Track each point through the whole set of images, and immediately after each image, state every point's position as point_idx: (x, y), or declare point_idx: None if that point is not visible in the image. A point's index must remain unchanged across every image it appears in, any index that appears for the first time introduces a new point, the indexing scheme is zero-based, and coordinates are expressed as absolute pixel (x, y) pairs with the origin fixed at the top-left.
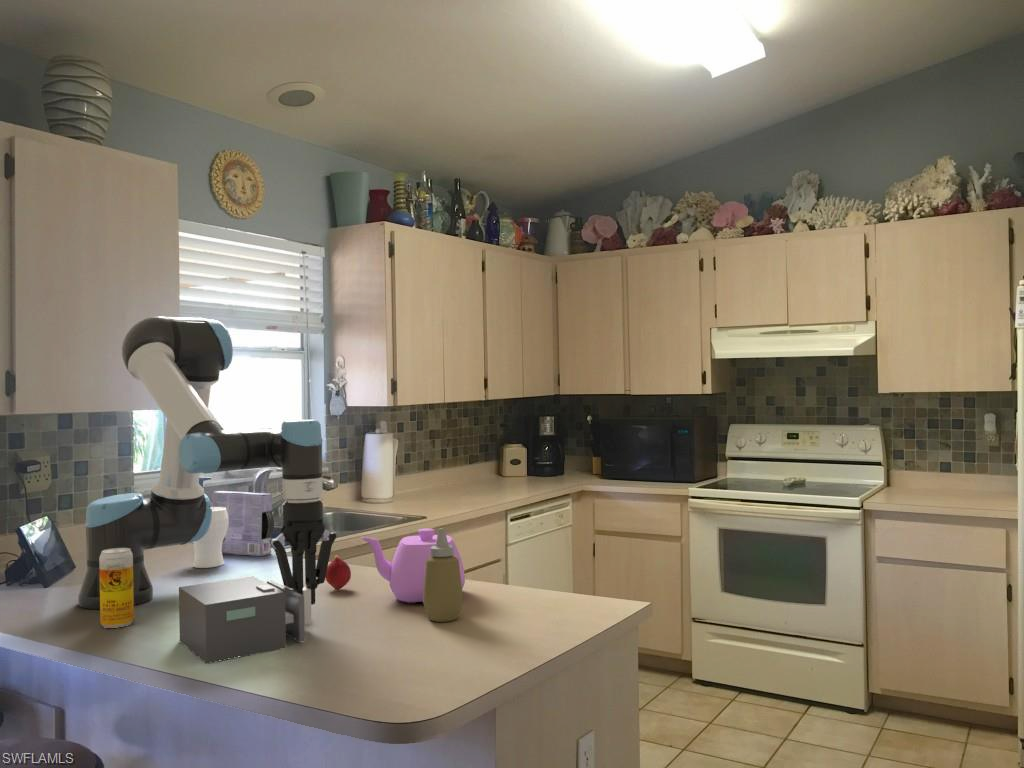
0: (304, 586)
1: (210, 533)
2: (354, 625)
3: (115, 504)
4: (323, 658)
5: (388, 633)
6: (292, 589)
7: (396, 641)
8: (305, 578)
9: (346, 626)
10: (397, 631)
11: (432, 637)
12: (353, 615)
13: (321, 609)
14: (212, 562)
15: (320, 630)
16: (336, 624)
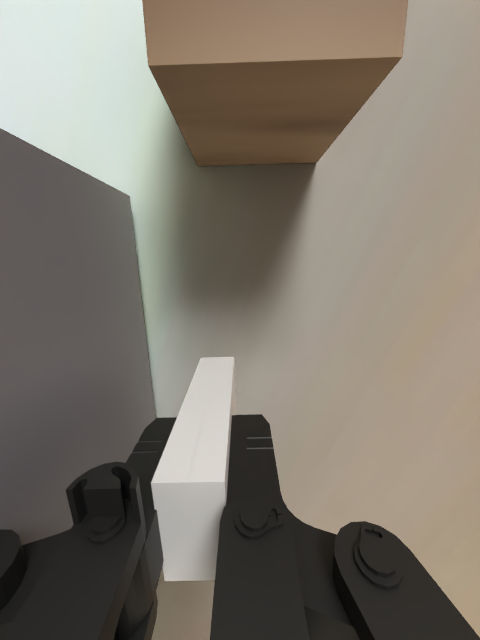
0: (391, 3)
1: None
2: (390, 417)
3: None
4: (171, 620)
5: (415, 548)
6: (239, 65)
7: None
8: (214, 599)
9: (362, 412)
10: (448, 546)
11: (475, 631)
12: (474, 284)
13: (436, 56)
14: None
15: (266, 403)
16: (348, 367)
